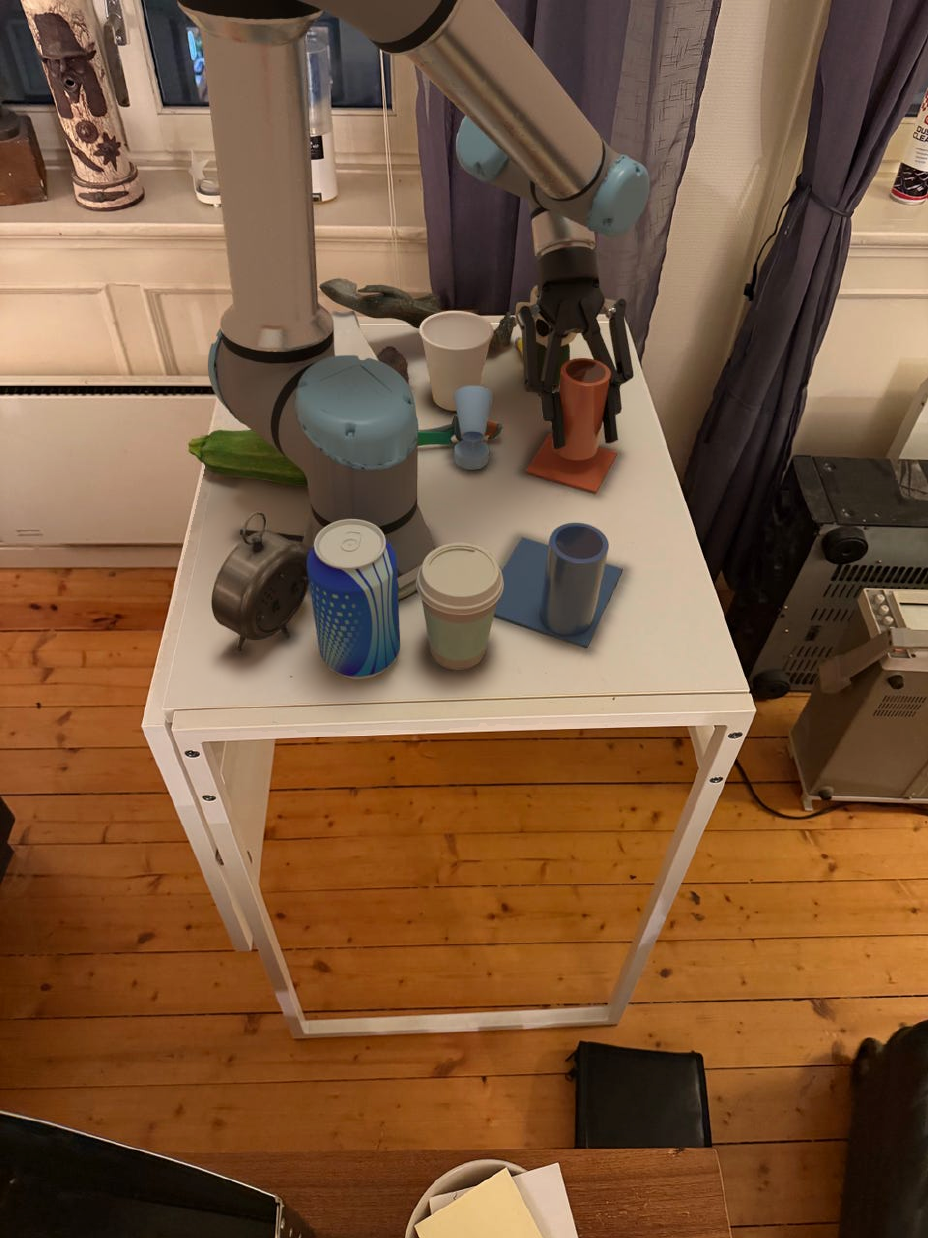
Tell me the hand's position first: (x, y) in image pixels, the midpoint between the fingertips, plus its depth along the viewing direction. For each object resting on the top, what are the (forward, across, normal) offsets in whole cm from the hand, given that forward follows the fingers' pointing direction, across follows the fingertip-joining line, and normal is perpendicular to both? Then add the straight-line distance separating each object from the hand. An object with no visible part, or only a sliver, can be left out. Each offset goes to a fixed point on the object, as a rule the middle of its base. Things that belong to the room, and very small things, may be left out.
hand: (585, 444), depth 108 cm
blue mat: (+17, +9, +9) cm, 21 cm away
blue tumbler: (+20, +8, +12) cm, 25 cm away
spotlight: (-1, +13, -9) cm, 16 cm away
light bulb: (-17, +1, -25) cm, 30 cm away
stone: (-16, +23, -22) cm, 36 cm away
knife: (-3, +18, -11) cm, 21 cm away
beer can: (+21, +31, +13) cm, 40 cm away
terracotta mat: (+2, 0, -7) cm, 7 cm away
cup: (-10, +13, -18) cm, 25 cm away
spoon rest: (-15, +28, -23) cm, 39 cm away
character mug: (-13, -2, -21) cm, 25 cm away
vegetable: (-2, +30, -4) cm, 30 cm away
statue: (-21, +1, -27) cm, 35 cm away
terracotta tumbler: (0, 0, -5) cm, 5 cm away
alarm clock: (+18, +40, +10) cm, 45 cm away
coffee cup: (+22, +21, +14) cm, 33 cm away
